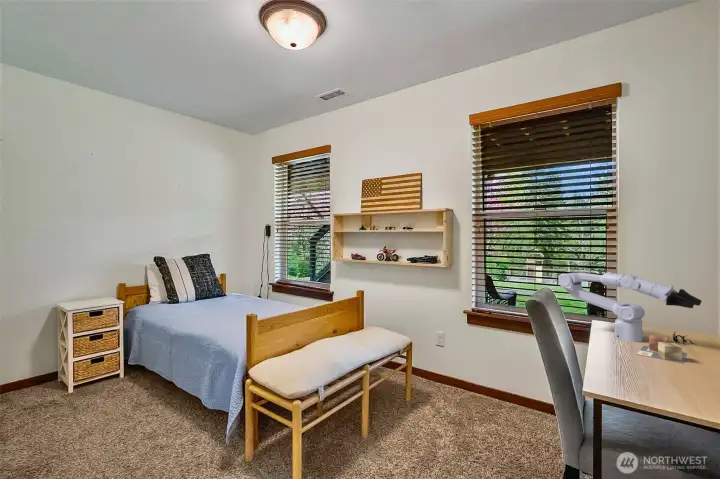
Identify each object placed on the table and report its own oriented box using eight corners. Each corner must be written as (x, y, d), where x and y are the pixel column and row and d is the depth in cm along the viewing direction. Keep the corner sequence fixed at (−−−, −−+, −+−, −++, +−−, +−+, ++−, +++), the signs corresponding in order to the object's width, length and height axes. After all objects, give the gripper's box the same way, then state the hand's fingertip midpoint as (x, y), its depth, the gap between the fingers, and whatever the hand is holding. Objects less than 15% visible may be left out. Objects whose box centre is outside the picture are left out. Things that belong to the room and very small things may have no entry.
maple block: (664, 359, 125) (664, 345, 125) (658, 355, 130) (658, 341, 130) (681, 361, 123) (682, 347, 123) (674, 356, 128) (674, 343, 128)
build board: (636, 356, 130) (636, 354, 130) (643, 347, 141) (643, 345, 141) (683, 365, 121) (683, 363, 121) (687, 355, 132) (687, 353, 132)
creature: (695, 347, 145) (671, 339, 151) (699, 335, 144) (674, 328, 150) (695, 351, 140) (669, 343, 145) (699, 339, 139) (673, 331, 144)
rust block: (649, 350, 135) (649, 337, 135) (651, 347, 139) (651, 335, 138) (666, 353, 131) (666, 340, 131) (667, 350, 135) (667, 338, 135)
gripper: (650, 283, 138) (693, 297, 127) (664, 279, 146) (707, 292, 135) (644, 299, 140) (687, 314, 129) (659, 294, 147) (700, 309, 136)
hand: (697, 304), depth 132 cm, fingers open, 7 cm apart
